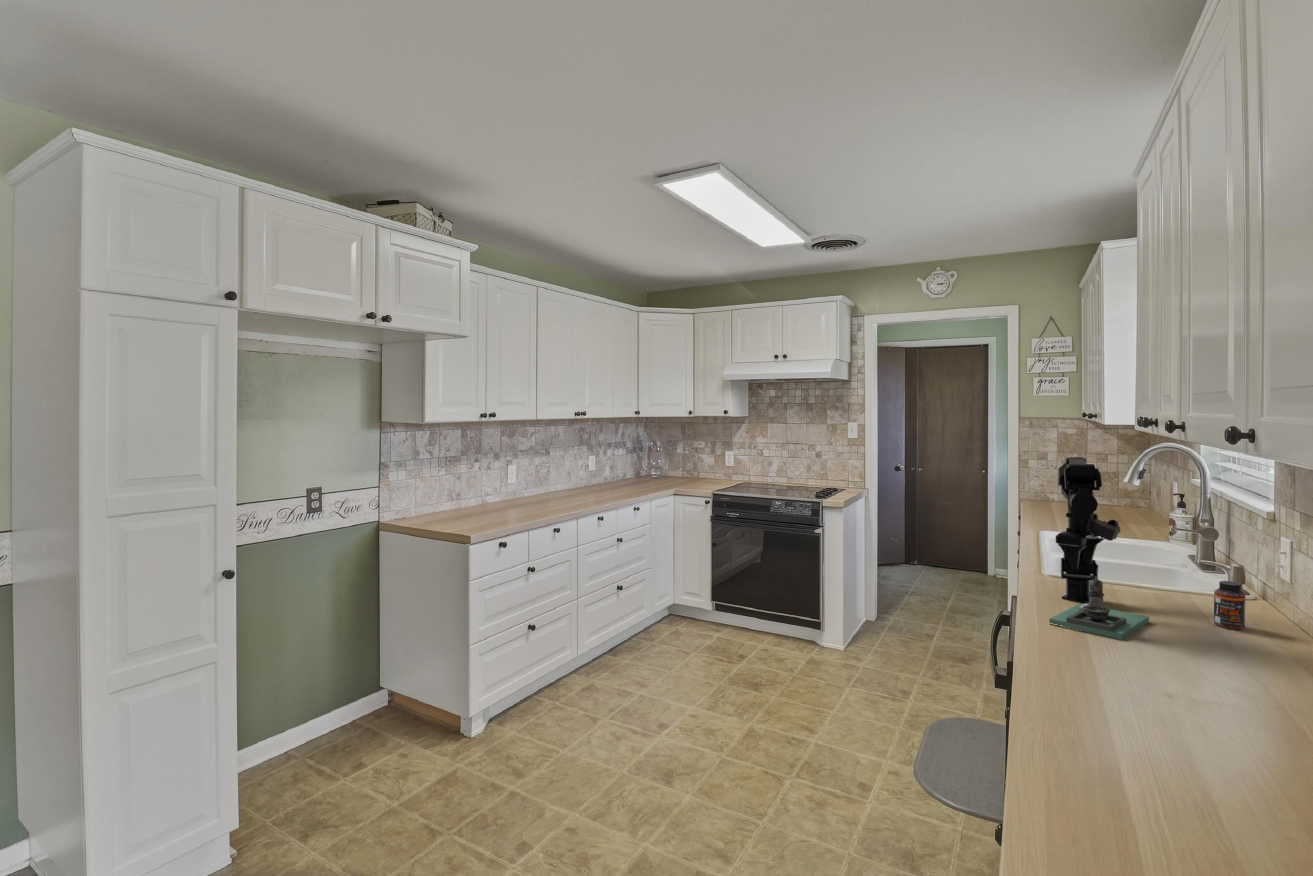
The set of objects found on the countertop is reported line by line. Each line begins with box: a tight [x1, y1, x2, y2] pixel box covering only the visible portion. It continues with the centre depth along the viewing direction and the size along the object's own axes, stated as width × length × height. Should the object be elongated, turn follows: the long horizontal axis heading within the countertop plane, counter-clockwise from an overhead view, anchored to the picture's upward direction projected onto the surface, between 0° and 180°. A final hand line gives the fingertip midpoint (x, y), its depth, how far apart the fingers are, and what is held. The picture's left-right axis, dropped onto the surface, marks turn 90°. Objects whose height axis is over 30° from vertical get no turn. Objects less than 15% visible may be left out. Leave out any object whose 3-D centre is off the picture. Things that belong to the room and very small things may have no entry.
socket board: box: [1048, 602, 1150, 641], centre depth 168 cm, size 20×16×3 cm
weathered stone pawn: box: [1082, 576, 1110, 625], centre depth 164 cm, size 6×6×12 cm
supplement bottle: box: [1213, 580, 1246, 631], centre depth 162 cm, size 6×6×11 cm
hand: (1081, 566), depth 176 cm, fingers open, 9 cm apart
